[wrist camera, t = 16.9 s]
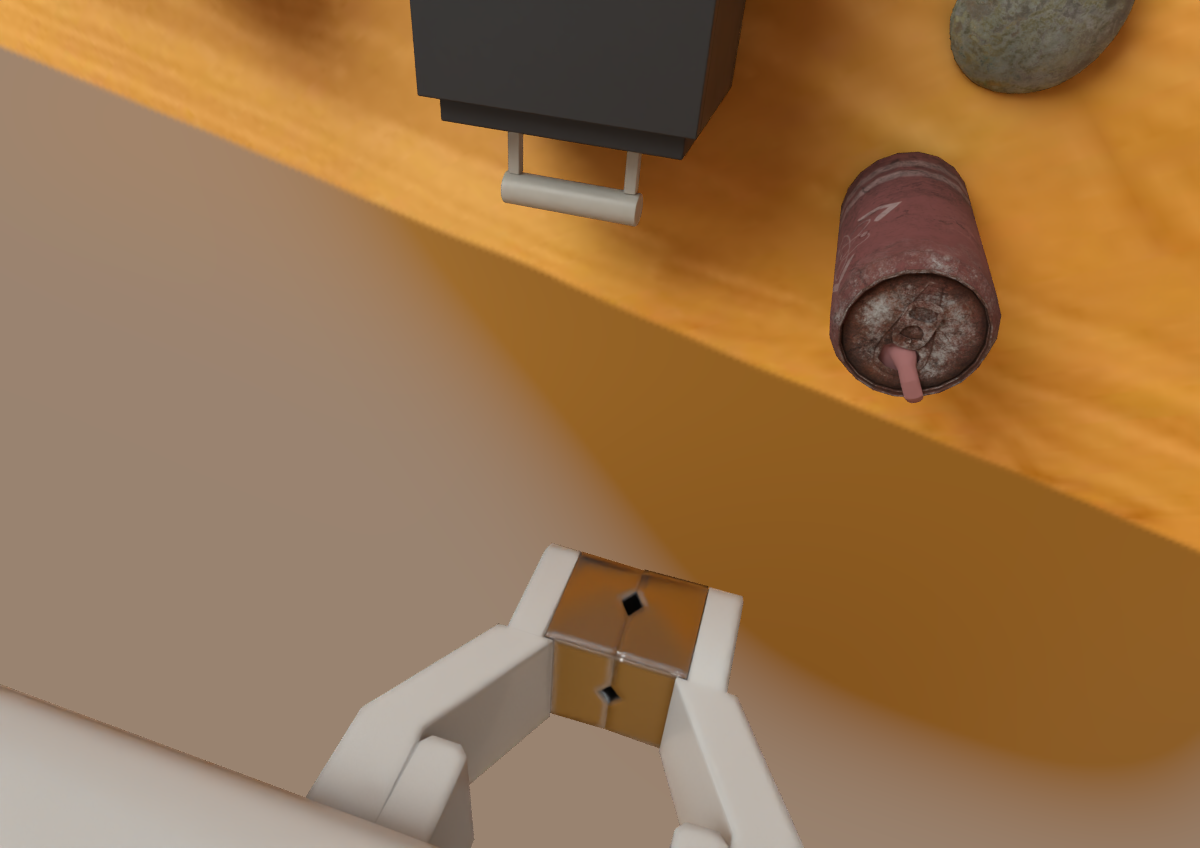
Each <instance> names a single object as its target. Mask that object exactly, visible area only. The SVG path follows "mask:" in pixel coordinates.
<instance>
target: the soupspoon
mask: <svg viewBox="0 0 1200 848" xmlns="http://www.w3.org/2000/svg"><path fill="white" fill-rule="evenodd" d="M1134 1H1135V0H957V1H956V5H955V7H954V8H953V11H952V14H951V19H950V40H951V50H952V52H953V55H954V59H955V61H956V62H957V64H958V65H959V67H960V68H961V70H962V71H963V73H964V74H966V75H967V77H968V78H969V79H970V80H971V81H972V82H974V83H976V84H978V85H979V86H982V87H984V88H987V89H990V90H992V91H996V92H1002V93H1018V94H1019V93H1030V92H1036V91H1041V90H1044V89H1048V88H1051V87H1053V86H1056V85H1059V84H1060V83H1062V82H1064V81H1066V80H1068V79H1070V78H1071V77H1073V76H1075V75H1076V74H1078V73H1080V72H1081V71H1082V70H1083V69H1085V68H1086V67H1087V66H1088V65H1089V64H1091V63H1092V62H1093V61H1094V60H1095V59H1096V58H1097V57H1098V56H1099V55H1100V54H1101V53H1102V52H1103V51H1104V50H1105V48H1106V47H1107V46H1108V45H1109V44H1110V42H1111V41H1112V40H1113V39H1114V37H1115V36H1116V35H1117V34H1118V32H1119V30H1120V29H1121V27H1122V26H1123V24H1124V22H1125V21H1126V19H1127V17H1128V15H1129V13H1130V11H1131V9H1132V6H1133V4H1134Z"/></svg>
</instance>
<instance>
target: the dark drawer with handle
mask: <svg viewBox="0 0 1200 848" xmlns="http://www.w3.org/2000/svg"><path fill="white" fill-rule="evenodd" d="M440 106H441V119H442V120H443V121H448V122H454V123H460V124H466V125H472V126H478V127H484V128H490V129H496V130H502V131H508V171H506V173H505V174H504V176H503V180H502V184H501V196H502V200H503V201H504V202H505V203H510V204H516V205H521V206H527V207H532V208H538V209H543V210H548V211H554V212H559V213H565V214H570V215H575V216H581V217H586V218H592V219H597V220H602V221H608V222H613V223H619V224H624V225H629V226H637V225H638V223H639V220H640V217H641V213H642V207H643V195H642V194H641V193H637V192H638V186H639V176H640V166H641V156H642V154H648V155H654V156H660V157H666V158H672V159H678V160H682V159H683V158H684V156H685V155H686V153H687V152H688V150H689V149H690V147H691V146H692V144H693V143H694V141H695V140H696V139H695V140H693V139H687V138H681V137H675V136H668V135H662V134H656V133H650V132H643V131H637V130H631V129H624V128H618V127H612V126H606V125H599V124H593V123H587V122H581V121H574V120H568V119H562V118H555V117H549V116H543V115H537V114H530V113H524V112H518V111H512V110H505V109H499V108H493V107H486V106H480V105H474V104H468V103H461V102H455V101H449V100H442V99H440ZM523 134H527V135H533V136H539V137H545V138H551V139H557V140H563V141H569V142H575V143H581V144H587V145H593V146H599V147H605V148H611V149H617V150H623V151H627V160H626V172H625V183H624V190H620V189H614V188H609V187H603V186H597V185H592V184H586V183H580V182H575V181H569V180H563V179H557V178H552V177H546V176H540V175H535V174H529V173H523V172H522V171H523Z"/></svg>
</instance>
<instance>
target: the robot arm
mask: <svg viewBox="0 0 1200 848" xmlns="http://www.w3.org/2000/svg"><path fill="white" fill-rule="evenodd" d="M707 591H708V592H707ZM742 607H743V597H742V596H739V595H736V594H732V593H728V592H725V591H721V590H718V589H714V588H709V589H708V586H705V585H701V584H698V583H694V582H690V581H686V580H682V579H678V578H675V577H671V576H667V575H663V574H660V573H656V572H652V571H648V570H641V569H637V568H634V567H631V566H627V565H624V564H621V563H618V562H614V561H611V560H607V559H604V558H601V557H598V556H595V555H591V554H588V553H585V552H581V551H577V550H574V549H570V548H567V547H564V546H560V545H557V544H553V543H551V544H550V545H549V546H548V547H547V548H546V550H545V551H544V553H543V555H542V557H541V559H540V561H539V563H538V565H537V567H536V569H535V571H534V573H533V575H532V577H531V579H530V581H529V583H528V585H527V588H526V590H525V592H524V594H523V596H522V598H521V600H520V602H519V604H518V606H517V608H516V610H515V612H514V614H513V616H512V618H511V620H510V622H509V624H508V626H506V625H502V624H497V625H495V626H494V627H492V628H490V629H489V630H487V631H485V632H484V633H482V634H480V635H479V636H477V637H476V638H474V639H472V640H471V641H469V642H467V643H466V644H464V645H463V646H461V647H459V648H458V649H456V650H454V651H453V652H451V653H449V654H448V655H447V656H445V657H443V658H441V659H440V660H438V661H436V662H435V663H433V664H432V665H430V666H428V667H427V668H425V669H423V670H422V671H420V672H418V673H417V674H415V675H414V676H412V677H410V678H409V679H407V680H405V681H404V682H402V683H401V684H399V685H397V686H396V687H394V688H392V689H391V690H389V691H388V692H386V693H384V694H383V695H381V696H379V697H378V698H376V699H374V700H373V701H371V702H370V703H368V704H366V705H365V706H363V707H362V708H361V709H360V711H359V712H358V714H357V716H356V717H355V719H354V720H353V722H352V724H351V725H350V727H349V728H348V730H347V732H346V733H345V735H344V736H343V738H342V740H341V741H340V743H339V745H338V746H337V748H336V749H335V751H334V752H333V754H332V756H331V757H330V759H329V761H328V762H327V764H326V766H325V767H324V769H323V770H322V772H321V774H320V775H319V777H318V778H317V780H316V781H315V783H314V785H313V786H312V788H311V790H310V791H309V793H308V794H307V796H306V797H303V796H300V795H297V794H295V793H292V792H289V791H287V790H284V789H281V788H278V787H276V786H273V785H270V784H268V783H265V782H262V781H260V780H257V779H254V778H251V777H249V776H246V775H243V774H241V773H238V772H235V771H233V770H230V769H227V768H225V767H222V766H219V765H217V764H214V763H211V762H208V761H206V760H203V759H200V758H198V757H195V756H192V755H189V754H187V753H184V752H181V751H179V750H176V749H173V748H171V747H168V746H165V745H163V744H160V743H157V742H155V741H152V740H149V739H147V738H144V737H141V736H138V735H136V734H133V733H130V732H127V731H125V730H122V729H120V728H117V727H114V726H112V725H109V724H106V723H103V722H101V721H98V720H95V719H93V718H90V717H87V716H85V715H82V714H79V713H76V712H74V711H71V710H68V709H66V708H63V707H60V706H58V705H55V704H52V703H50V702H47V701H44V700H42V699H39V698H36V697H33V696H31V695H28V694H25V693H23V692H20V691H17V690H15V689H12V688H9V687H7V686H4V685H1V684H0V848H471V846H472V843H473V841H474V833H473V821H472V810H471V799H470V787H469V785H470V784H471V783H472V782H473V781H474V780H475V779H477V778H478V777H479V776H480V775H481V774H483V773H484V772H485V771H486V770H487V769H488V768H490V767H491V766H492V765H493V764H494V763H496V762H497V761H498V760H499V759H500V758H501V757H503V756H504V755H505V754H506V753H507V752H509V751H510V750H511V749H512V748H513V747H514V746H516V745H517V744H518V743H519V742H520V741H521V740H523V739H524V738H525V737H526V736H527V735H528V734H530V733H531V732H532V731H533V730H534V729H536V728H537V727H538V726H539V725H540V724H542V723H543V722H544V721H545V720H546V719H547V718H548V717H550V713H552V714H556V715H559V716H563V717H566V718H570V719H573V720H576V721H579V722H583V723H586V724H590V725H593V726H597V727H600V728H603V729H606V730H609V731H612V732H615V733H618V734H620V735H623V736H626V737H629V738H632V739H635V740H637V741H640V742H643V743H646V744H649V745H652V746H655V747H657V748H660V749H659V752H660V756H661V760H662V764H663V767H664V771H665V774H666V778H667V782H668V785H669V789H670V793H671V796H672V800H673V803H674V807H675V811H676V814H677V818H678V821H679V825H680V826H679V827H677V828H676V829H675V831H674V834H673V838H672V841H671V844H670V848H804V846H803V844H802V841H801V839H800V837H799V835H798V832H797V830H796V828H795V826H794V823H793V821H792V819H791V816H790V814H789V812H788V810H787V807H786V805H785V803H784V801H783V798H782V797H781V794H780V792H779V789H778V787H777V785H776V783H775V780H774V778H773V776H772V774H771V771H770V769H769V767H768V765H767V762H766V760H765V758H764V755H763V753H762V751H761V749H760V746H759V744H758V742H757V740H756V737H755V735H754V733H753V731H752V728H751V726H750V724H749V721H748V719H747V717H746V715H745V713H744V710H743V708H742V706H741V703H740V701H739V699H738V697H737V696H736V695H733V694H730V693H727V690H728V684H729V679H730V673H731V668H732V662H733V657H734V651H735V646H736V640H737V634H738V629H739V624H740V618H741V613H742Z"/></svg>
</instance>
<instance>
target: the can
mask: <svg viewBox="0 0 1200 848" xmlns="http://www.w3.org/2000/svg"><path fill="white" fill-rule="evenodd" d="M1000 319H1001V313H1000V308H999V304H998V299H997V295H996V291H995V287H994V284H993V280H992V277H991V273H990V270H989V266H988V263H987V259H986V256H985V252H984V249H983V245H982V242H981V238H980V235H979V231H978V228H977V224H976V221H975V217H974V214H973V210H972V207H971V203H970V200H969V196H968V193H967V189H966V186H965V183H964V181H963V180H962V178H961V177H960V175H959V174H958V173H957V171H956V170H955V168H954V167H952V166H951V165H949V164H948V163H947V162H945V161H944V160H942V159H941V158H939V157H937V156H933V155H929V154H925V153H921V152H909V153H897V154H894V155H891V156H889V157H886V158H883V159H880V160H878V161H876V162H875V163H873V164H872V165H871V166H869V167H868V168H866V169H865V170H864V171H862V172H861V173H860V174H859V175H858V177H857V178H856V179H855V180H854V182H853V183H852V184H851V185H850V187H849V188H848V190H847V193H846V195H845V198H844V201H843V203H842V206H841V215H840V225H839V235H838V245H837V255H836V264H835V274H834V284H833V294H832V303H831V313H830V339H831V342H832V345H833V348H834V351H835V354H836V356H837V357H838V359H839V360H840V361H841V362H842V363H843V365H844V366H845V367H846V368H847V370H848V371H849V372H850V373H851V374H852V375H853V376H854V377H855V378H856V379H857V380H859V381H860V382H862V383H863V384H865V385H866V386H868V387H869V388H871V389H873V390H875V391H878V392H882V393H885V394H888V395H892V396H900V397H904V398H905V399H906V400H907V401H908V402H910V403H916V402H919V401H921V400H922V399H923V396H925V395H930V394H935V393H940V392H942V391H944V390H946V389H949V388H951V387H953V386H955V385H957V384H959V383H961V382H962V381H964V380H965V379H966V378H967V377H968V376H969V375H970V374H972V373H973V372H974V371H975V370H976V369H977V368H978V367H979V366H980V364H981V363H982V361H983V360H984V359H985V358H986V356H987V354H988V353H989V351H990V349H991V348H992V346H993V344H994V343H995V341H996V339H997V335H998V330H999V325H1000Z"/></svg>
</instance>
